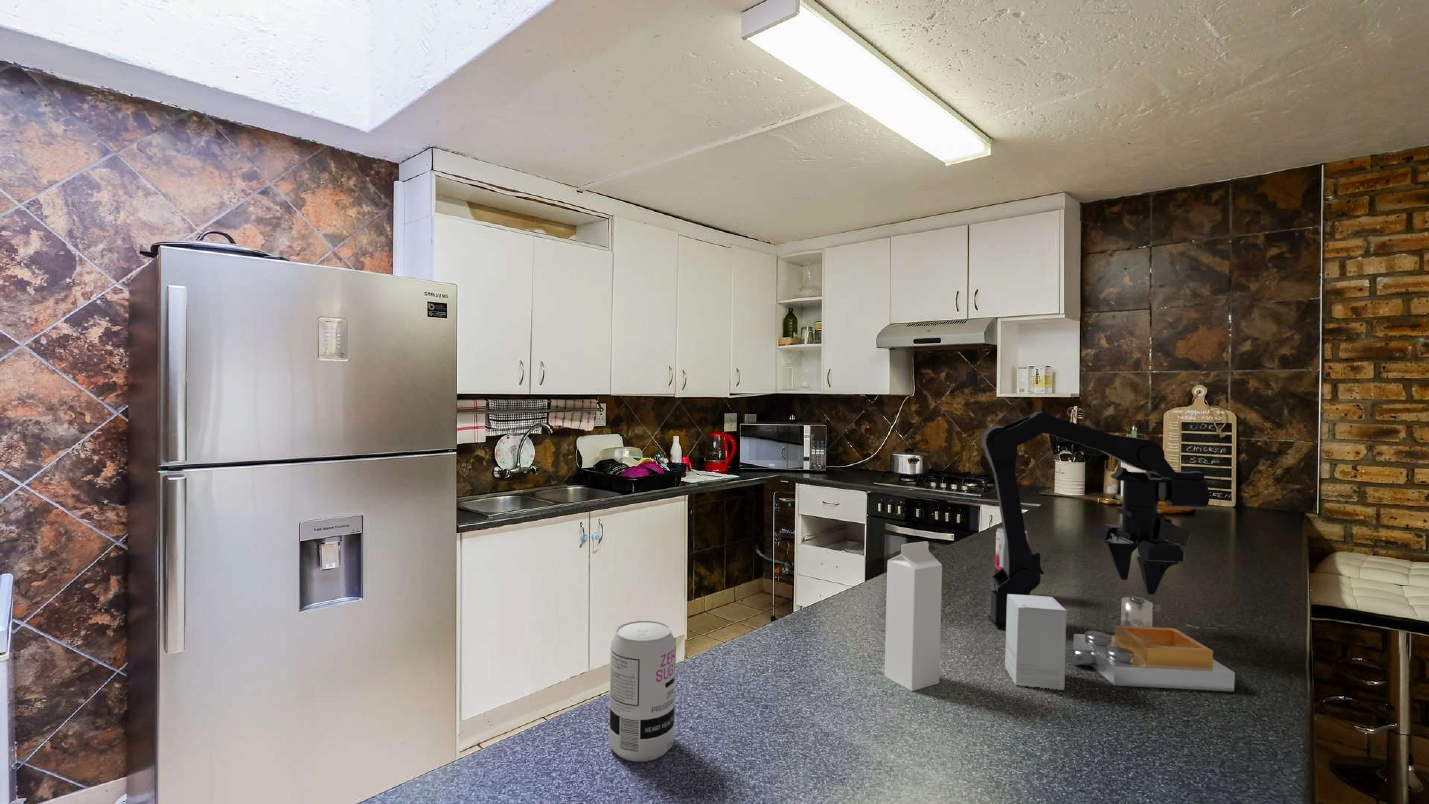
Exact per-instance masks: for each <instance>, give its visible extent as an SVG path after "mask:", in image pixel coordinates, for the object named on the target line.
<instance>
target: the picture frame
mask: <svg viewBox="0 0 1429 804" xmlns="http://www.w3.org/2000/svg"><path fill="white" fill-rule="evenodd" d="M1070 656H1071V661H1072V663H1073V665H1074V666H1075V665H1077V666H1091V667H1092V668H1093V669H1094V670H1095V671H1096V672H1098V673H1099V674H1100V675H1102V676H1103V677H1104V678H1105V679H1106V680H1107V681H1109V682H1110V683H1111V684H1112V685H1113V686H1121V687H1141V688H1144V687H1145V688H1158V689H1159V688H1161V689H1180V690H1181V689H1182V690H1197V691H1198V690H1200V691H1217V692H1218V691H1219V692H1235V680H1236V679H1235V676H1236V674H1235V671H1233V670H1231V669H1230V668H1229V667H1227V666H1225V665H1223V664H1221V663H1220V662H1218V661H1216V660H1215V659H1214V650H1212V649H1210V648H1208V647H1207V646H1205V645H1204V644H1202V643H1200V642H1199V641H1197V640H1195V639H1194V638H1193V637H1190V636H1189V635H1187V634H1185V633H1184V632H1182V631H1180V630H1178V629H1176V628H1174V627H1173V628H1172V627H1154V626H1152V627H1134V626H1121V625H1114V635H1110V634H1108V633H1105V632H1101V631H1097V630H1087V631H1085V632H1084V633H1083V634H1082V633H1073V649H1072V650H1071V653H1070Z"/></svg>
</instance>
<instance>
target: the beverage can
mask: <svg viewBox="0 0 1429 804" xmlns="http://www.w3.org/2000/svg"><path fill="white" fill-rule="evenodd" d="M1025 532H1026V538H1027V542H1028V543H1029V535H1028V531H1027V530H1025ZM995 535H996V536H995V558H994V559H995V561H994V562H995V563H994V565H995V566H994V574H995V573H997V572H998V571H999V570H1000V569H1002V568H1003V553H1004V545H1005V537H1004V531H1003V527H998V528H997V529H996V532H995ZM995 590H996V588H995V587H994V590H993V591H995Z"/></svg>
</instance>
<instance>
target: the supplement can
mask: <svg viewBox="0 0 1429 804" xmlns="http://www.w3.org/2000/svg"><path fill="white" fill-rule="evenodd" d="M676 646H677V641H676V639H675V637H674V635H673V633H672V629H671V627H670V626H669V625H668V624H666V623H664V622H660V621H656V620H634V621H633V620H632V621H629V622H626V623H623V624H620V625H619V626H618V627H617V628H616V630H615V634H614V636H613V637H612V639H611V641H610V657H609V658H610V660H609V661H610V663H609V664H610V667H609V670H610V671H609V673H610V674H609V720H608V721H609V729H608V732H609V733H608V735H609V736H608V738H609V739H608V743H609V748H610V749H611V750H612V751H613V752H614V753H615V754H616V755H617V756H618V757H619V758H622V759H623V760H626V761H631V762H636V763H637V762H650V761H654V760H657V759H658V758H660V757H662V756H664V755H665V754H666V753H667V752H668V751H669V750H670V749H671V748H672V747H673V745H674V741H675V711H676V709H675V707H676V706H675V705H676V704H675V703H676V702H675V700H676V698H675V697H676V650H677V649H676V648H677V647H676Z"/></svg>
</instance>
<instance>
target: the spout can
mask: <svg viewBox="0 0 1429 804" xmlns="http://www.w3.org/2000/svg"><path fill="white" fill-rule="evenodd" d="M1120 605H1121V607H1120V608H1121V609H1120V610H1121V611H1120V612H1121V613H1120V626H1134V627H1153V615H1155V614H1157V613H1162V612H1164V606H1162V605H1161V604H1157V605H1154V603H1153V602H1151V601H1149V600H1148V599H1145V598H1144V597H1141V596H1133V595H1131V596H1125V597H1124V596H1123V597H1122V598H1121V604H1120Z"/></svg>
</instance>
